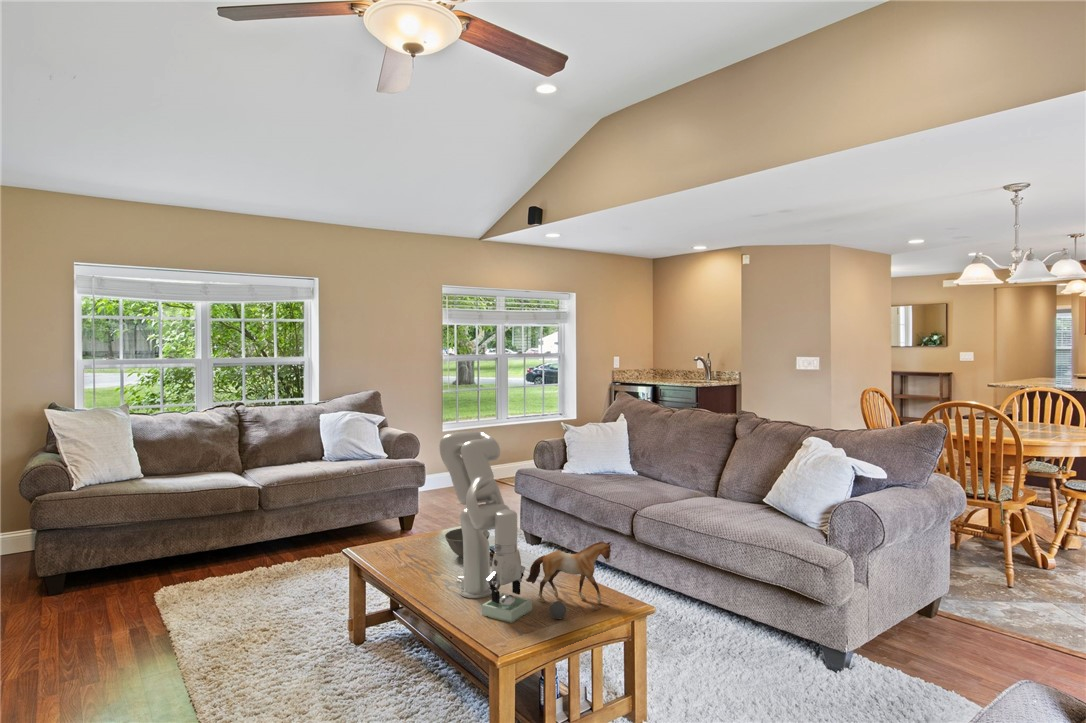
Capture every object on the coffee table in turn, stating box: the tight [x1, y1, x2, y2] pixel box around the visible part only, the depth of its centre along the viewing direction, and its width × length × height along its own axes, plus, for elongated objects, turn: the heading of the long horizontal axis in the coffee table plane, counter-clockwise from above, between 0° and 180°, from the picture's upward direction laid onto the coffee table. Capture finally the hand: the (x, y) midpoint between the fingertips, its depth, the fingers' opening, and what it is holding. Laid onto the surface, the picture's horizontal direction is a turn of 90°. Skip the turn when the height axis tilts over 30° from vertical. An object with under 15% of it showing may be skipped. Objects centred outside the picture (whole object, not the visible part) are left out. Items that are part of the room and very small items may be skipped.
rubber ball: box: [549, 600, 568, 620], centre depth 212 cm, size 6×6×6 cm
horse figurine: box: [525, 541, 613, 605], centre depth 227 cm, size 31×8×21 cm, turn 81°
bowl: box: [444, 527, 490, 559], centre depth 275 cm, size 19×19×10 cm
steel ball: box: [499, 593, 515, 611], centre depth 217 cm, size 6×6×6 cm
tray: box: [481, 592, 533, 624], centre depth 217 cm, size 12×12×4 cm
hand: (506, 597), depth 217 cm, fingers open, 9 cm apart
